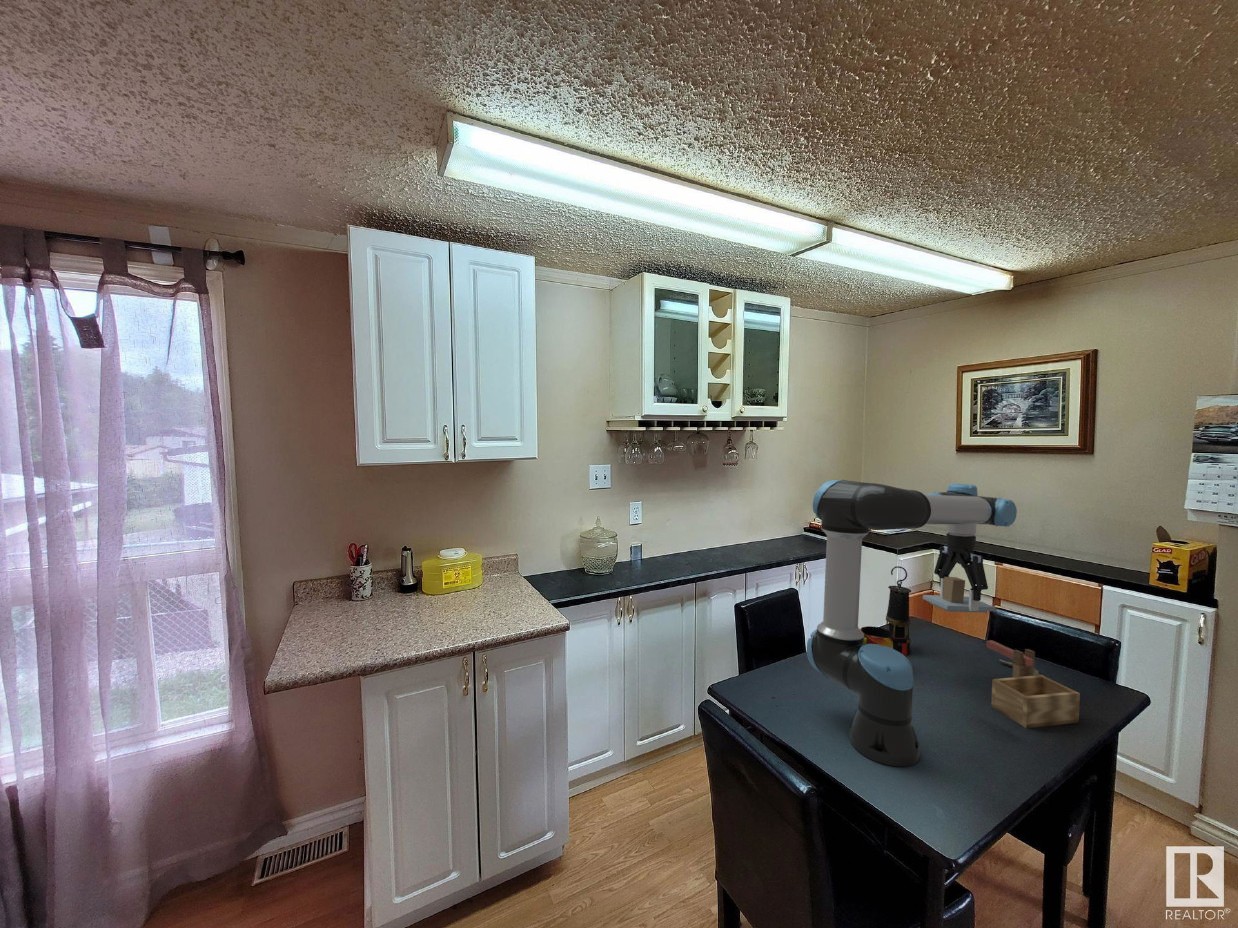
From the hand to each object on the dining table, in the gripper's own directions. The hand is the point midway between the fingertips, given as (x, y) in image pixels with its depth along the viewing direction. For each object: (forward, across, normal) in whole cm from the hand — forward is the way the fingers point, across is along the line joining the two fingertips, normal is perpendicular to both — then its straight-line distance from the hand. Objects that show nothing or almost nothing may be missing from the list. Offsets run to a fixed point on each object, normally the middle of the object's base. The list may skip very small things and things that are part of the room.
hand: (958, 604), depth 150 cm
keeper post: (+24, -12, -11) cm, 29 cm away
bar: (+14, -7, -11) cm, 19 cm away
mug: (+24, +11, +18) cm, 32 cm away
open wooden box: (+24, -21, -4) cm, 32 cm away
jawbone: (+25, -3, -20) cm, 32 cm away
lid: (0, 0, 0) cm, 0 cm away
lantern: (+24, +21, +4) cm, 32 cm away
